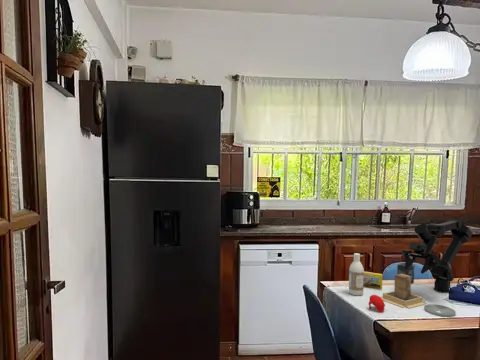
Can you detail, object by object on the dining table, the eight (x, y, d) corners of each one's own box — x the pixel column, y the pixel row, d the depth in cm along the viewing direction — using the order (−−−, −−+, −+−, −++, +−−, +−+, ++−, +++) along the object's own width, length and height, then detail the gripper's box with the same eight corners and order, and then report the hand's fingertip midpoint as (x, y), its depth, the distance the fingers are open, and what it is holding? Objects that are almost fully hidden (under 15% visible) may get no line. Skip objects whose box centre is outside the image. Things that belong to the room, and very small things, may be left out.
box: (406, 285, 193) (406, 266, 193) (396, 282, 198) (397, 263, 198) (414, 283, 197) (414, 264, 197) (404, 280, 202) (405, 262, 202)
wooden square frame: (398, 293, 180) (398, 288, 180) (428, 303, 166) (429, 298, 166) (376, 297, 172) (376, 292, 172) (406, 309, 158) (406, 303, 158)
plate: (443, 306, 163) (443, 303, 162) (462, 316, 151) (462, 314, 151) (418, 306, 161) (418, 304, 161) (435, 317, 149) (435, 314, 149)
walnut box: (400, 298, 172) (401, 273, 172) (410, 301, 168) (411, 276, 168) (394, 299, 170) (394, 274, 170) (403, 303, 165) (404, 277, 165)
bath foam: (353, 296, 174) (354, 255, 173) (346, 291, 180) (347, 252, 180) (366, 295, 175) (367, 255, 175) (358, 291, 182) (359, 252, 182)
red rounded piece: (363, 299, 160) (368, 296, 155) (374, 294, 162) (379, 291, 157) (373, 316, 157) (378, 314, 152) (384, 311, 158) (390, 308, 153)
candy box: (349, 285, 192) (350, 269, 192) (350, 284, 194) (351, 269, 194) (381, 290, 184) (381, 274, 184) (382, 289, 185) (382, 273, 185)
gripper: (402, 234, 184) (388, 258, 179) (434, 237, 167) (420, 264, 162) (414, 246, 187) (401, 271, 182) (447, 251, 170) (434, 278, 165)
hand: (413, 271), depth 173 cm, fingers open, 9 cm apart
